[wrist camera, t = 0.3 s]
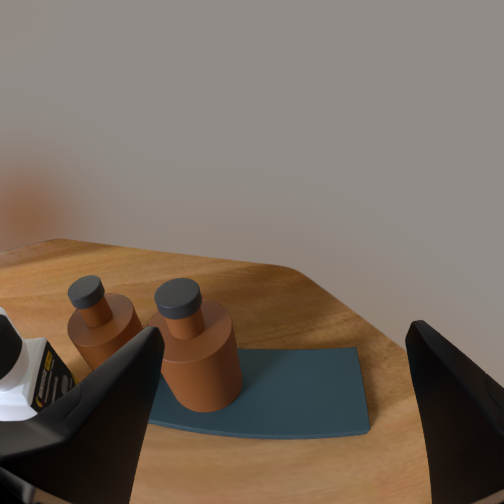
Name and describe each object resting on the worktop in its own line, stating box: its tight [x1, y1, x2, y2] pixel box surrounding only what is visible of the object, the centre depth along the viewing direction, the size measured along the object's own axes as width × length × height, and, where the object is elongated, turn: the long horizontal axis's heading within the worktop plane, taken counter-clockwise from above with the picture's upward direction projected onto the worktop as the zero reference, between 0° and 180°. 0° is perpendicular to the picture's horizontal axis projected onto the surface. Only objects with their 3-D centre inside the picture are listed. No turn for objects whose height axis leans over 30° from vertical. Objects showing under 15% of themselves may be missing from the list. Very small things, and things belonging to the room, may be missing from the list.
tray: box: [148, 347, 370, 439], centre depth 21 cm, size 8×24×1 cm, turn 85°
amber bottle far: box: [67, 275, 143, 371], centre depth 19 cm, size 6×6×10 cm
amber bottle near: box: [147, 278, 243, 413], centre depth 18 cm, size 6×6×10 cm
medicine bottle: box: [0, 307, 79, 421], centre depth 14 cm, size 7×7×12 cm
